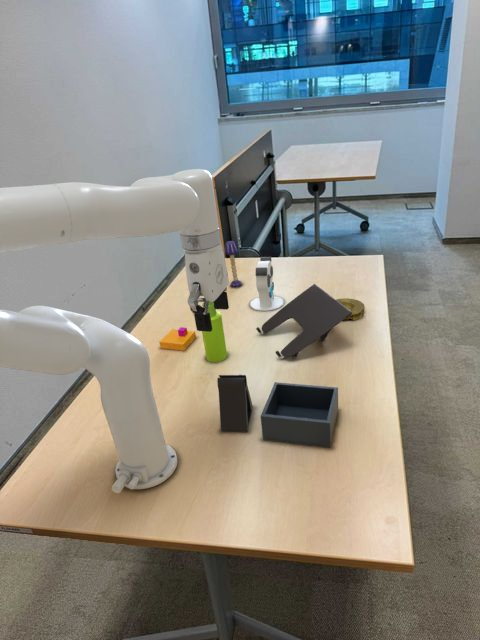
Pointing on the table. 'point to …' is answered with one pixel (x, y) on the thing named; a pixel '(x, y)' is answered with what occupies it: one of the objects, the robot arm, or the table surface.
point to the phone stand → (234, 403)
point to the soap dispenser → (215, 337)
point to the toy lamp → (232, 262)
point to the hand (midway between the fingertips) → (213, 319)
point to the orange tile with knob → (178, 339)
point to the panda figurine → (265, 287)
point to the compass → (353, 307)
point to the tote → (300, 414)
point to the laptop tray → (308, 318)
